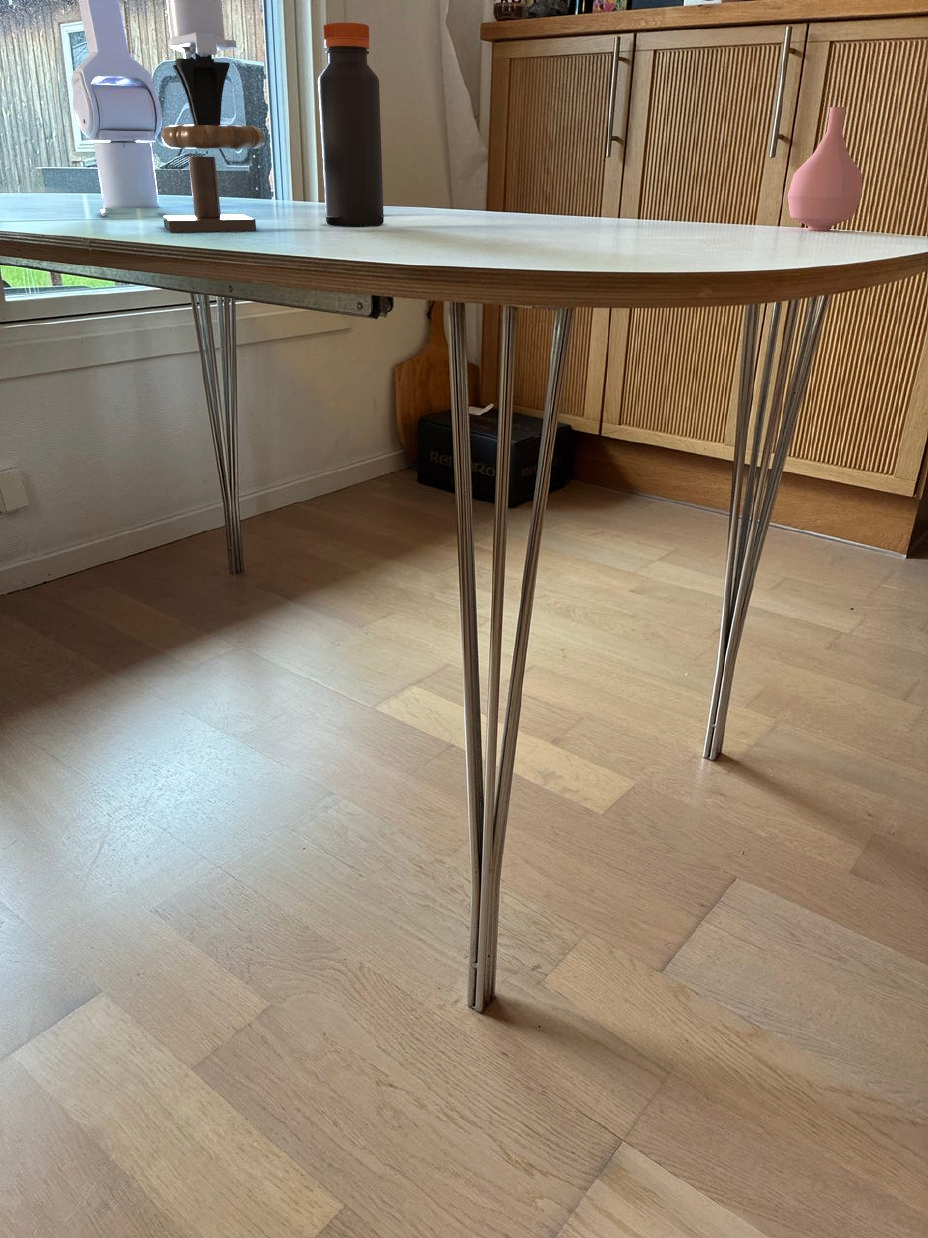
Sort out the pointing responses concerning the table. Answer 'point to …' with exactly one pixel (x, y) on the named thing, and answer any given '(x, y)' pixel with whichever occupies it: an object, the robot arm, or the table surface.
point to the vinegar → (350, 129)
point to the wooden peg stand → (206, 204)
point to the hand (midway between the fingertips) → (208, 134)
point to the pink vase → (826, 181)
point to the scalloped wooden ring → (212, 137)
